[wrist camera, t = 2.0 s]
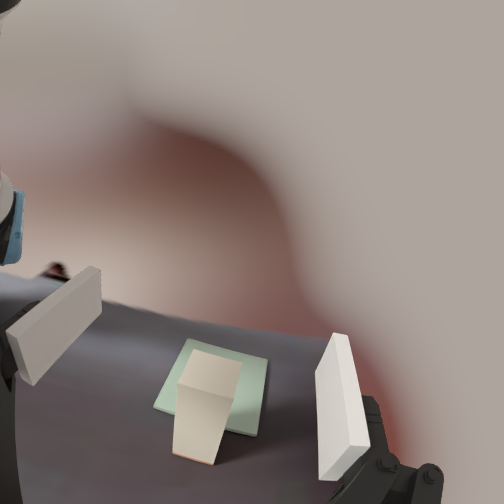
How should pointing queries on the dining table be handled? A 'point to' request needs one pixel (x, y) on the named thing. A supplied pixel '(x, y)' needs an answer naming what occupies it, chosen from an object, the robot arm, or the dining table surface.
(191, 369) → the cream block
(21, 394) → the dining table surface
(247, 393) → the sage mat
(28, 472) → the dining table surface
